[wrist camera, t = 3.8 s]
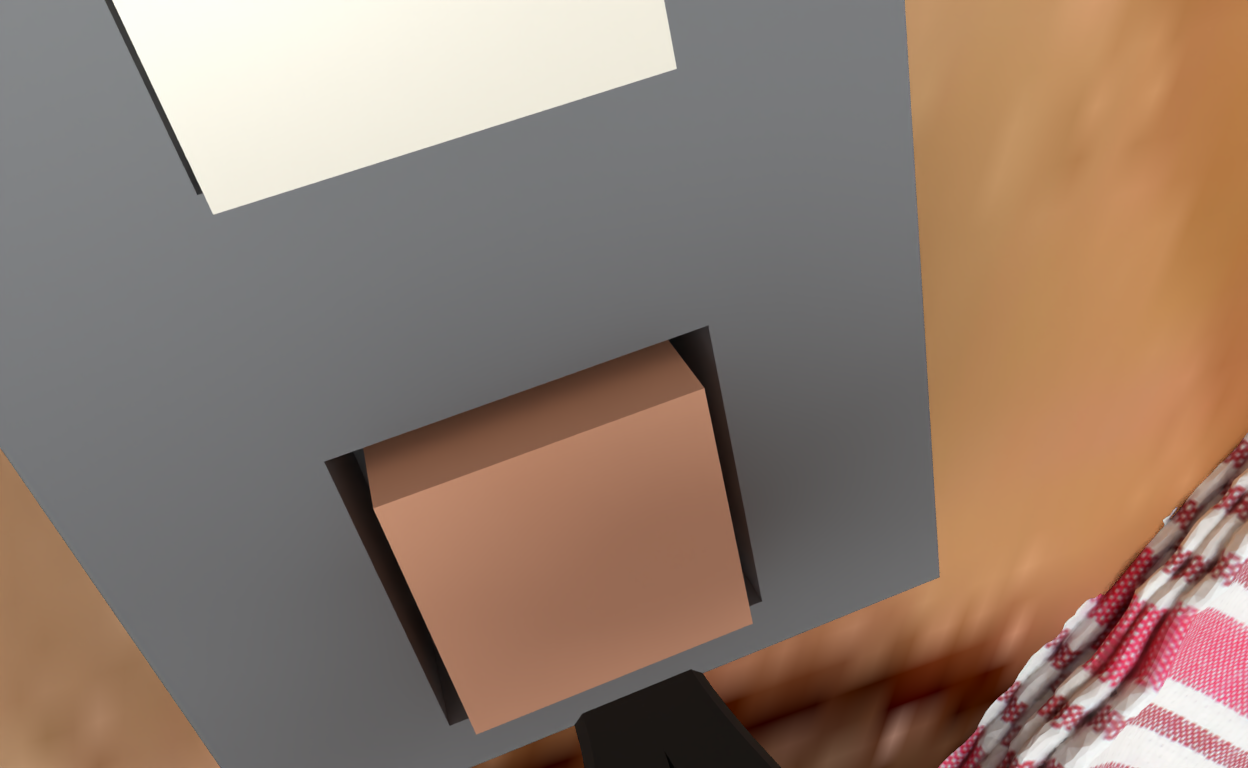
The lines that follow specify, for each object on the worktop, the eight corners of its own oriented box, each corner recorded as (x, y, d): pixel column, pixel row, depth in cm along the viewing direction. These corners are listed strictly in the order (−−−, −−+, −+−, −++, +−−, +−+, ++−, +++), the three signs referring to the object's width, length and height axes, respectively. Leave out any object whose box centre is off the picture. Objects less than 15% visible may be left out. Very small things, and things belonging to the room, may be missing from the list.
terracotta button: (443, 595, 17) (476, 734, 14) (352, 385, 15) (373, 508, 12) (682, 505, 17) (753, 623, 15) (630, 289, 15) (703, 388, 13)
